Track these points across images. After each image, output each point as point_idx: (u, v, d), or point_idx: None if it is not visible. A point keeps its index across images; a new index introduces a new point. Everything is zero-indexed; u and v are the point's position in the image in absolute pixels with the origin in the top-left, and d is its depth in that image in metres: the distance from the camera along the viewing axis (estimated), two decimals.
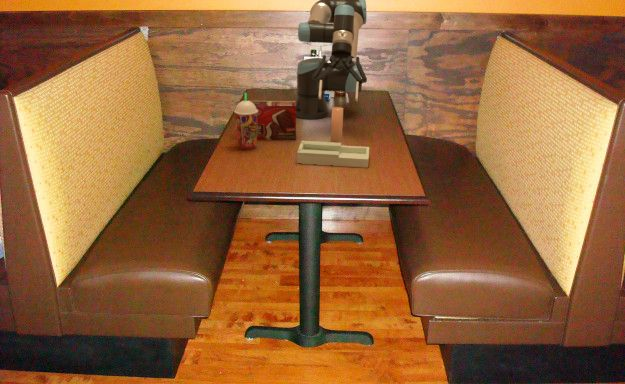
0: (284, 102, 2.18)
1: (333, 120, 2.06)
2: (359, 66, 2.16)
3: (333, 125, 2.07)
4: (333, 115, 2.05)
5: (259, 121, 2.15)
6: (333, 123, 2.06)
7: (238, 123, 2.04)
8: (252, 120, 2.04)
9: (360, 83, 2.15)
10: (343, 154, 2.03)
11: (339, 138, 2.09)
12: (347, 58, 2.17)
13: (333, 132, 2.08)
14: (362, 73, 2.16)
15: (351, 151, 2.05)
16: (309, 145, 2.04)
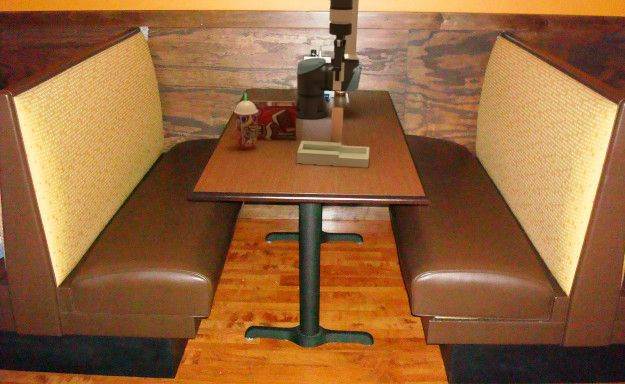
0: (284, 102, 2.18)
1: (333, 120, 2.06)
2: None
3: (333, 125, 2.07)
4: (333, 115, 2.05)
5: (259, 121, 2.15)
6: (333, 123, 2.06)
7: (238, 123, 2.04)
8: (252, 120, 2.04)
9: (342, 63, 2.07)
10: (343, 154, 2.03)
11: (339, 138, 2.09)
12: None
13: (333, 132, 2.08)
14: (344, 52, 2.06)
15: (351, 151, 2.05)
16: (309, 145, 2.04)
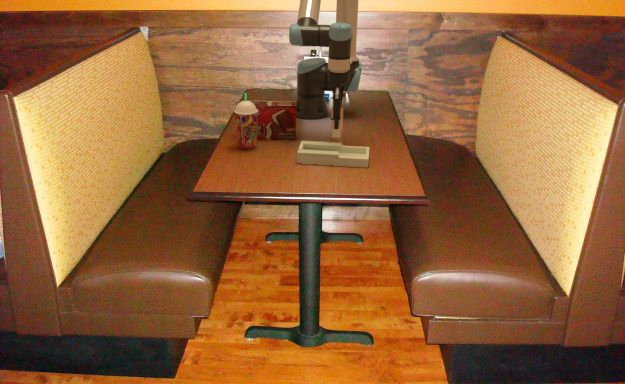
0: (284, 102, 2.18)
1: None
2: None
3: None
4: None
5: (259, 121, 2.15)
6: None
7: (238, 123, 2.04)
8: (252, 120, 2.04)
9: None
10: (343, 154, 2.03)
11: (339, 138, 2.09)
12: None
13: None
14: None
15: (351, 151, 2.05)
16: (309, 145, 2.04)
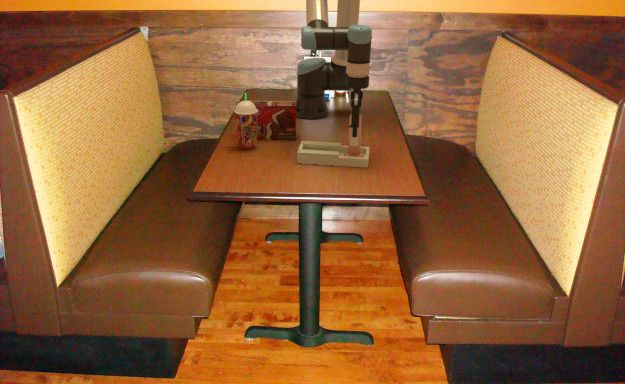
0: (284, 102, 2.18)
1: None
2: None
3: None
4: None
5: (259, 121, 2.15)
6: None
7: (238, 123, 2.04)
8: (252, 120, 2.04)
9: None
10: (343, 154, 2.03)
11: (357, 146, 1.98)
12: (360, 89, 1.93)
13: None
14: None
15: None
16: (309, 145, 2.04)
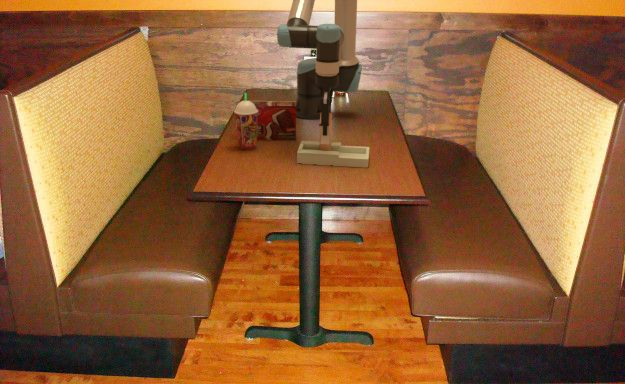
0: (284, 102, 2.18)
1: None
2: None
3: None
4: None
5: (259, 121, 2.15)
6: None
7: (238, 123, 2.04)
8: (252, 120, 2.04)
9: None
10: (343, 154, 2.03)
11: (328, 145, 1.98)
12: (330, 88, 1.94)
13: None
14: None
15: (351, 151, 2.05)
16: (309, 145, 2.04)
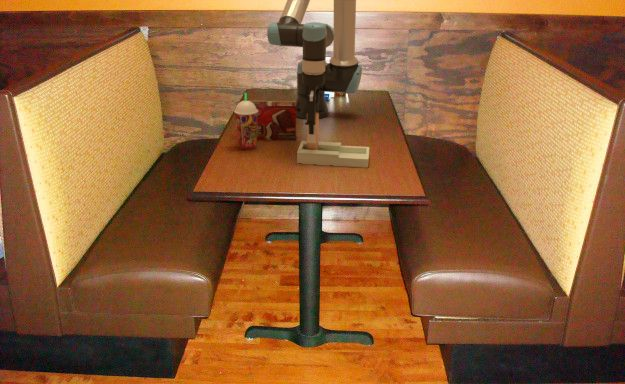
0: (284, 102, 2.18)
1: None
2: None
3: None
4: None
5: (259, 121, 2.15)
6: None
7: (238, 123, 2.04)
8: (252, 120, 2.04)
9: None
10: (343, 154, 2.03)
11: (315, 145, 1.99)
12: (317, 86, 1.95)
13: None
14: (318, 105, 2.01)
15: (351, 151, 2.05)
16: None
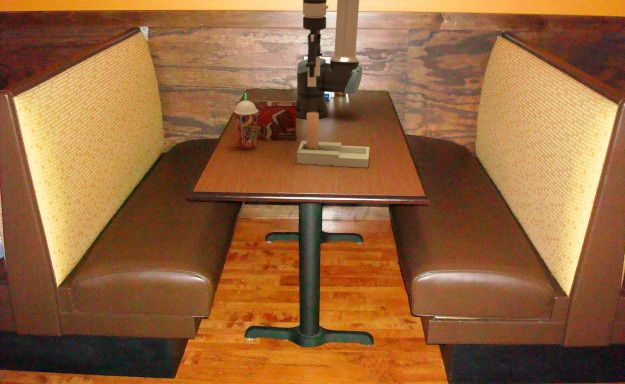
0: (284, 102, 2.18)
1: (308, 126, 1.96)
2: None
3: (308, 131, 1.97)
4: (308, 121, 1.96)
5: (259, 121, 2.15)
6: (308, 129, 1.97)
7: (238, 123, 2.04)
8: (252, 120, 2.04)
9: None
10: (343, 154, 2.03)
11: (315, 145, 1.99)
12: (318, 32, 1.92)
13: (308, 138, 1.98)
14: None
15: (351, 151, 2.05)
16: None
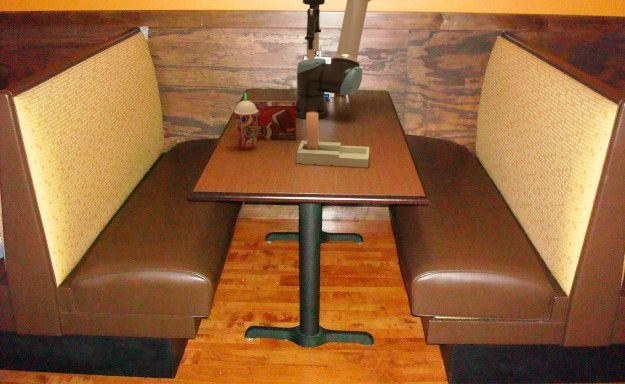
0: (284, 102, 2.18)
1: (308, 126, 1.96)
2: None
3: (308, 131, 1.97)
4: (308, 121, 1.96)
5: (259, 121, 2.15)
6: (308, 129, 1.97)
7: (238, 123, 2.04)
8: (252, 120, 2.04)
9: None
10: (343, 154, 2.03)
11: (315, 145, 1.99)
12: (317, 8, 2.02)
13: (308, 138, 1.98)
14: None
15: (351, 151, 2.05)
16: None
